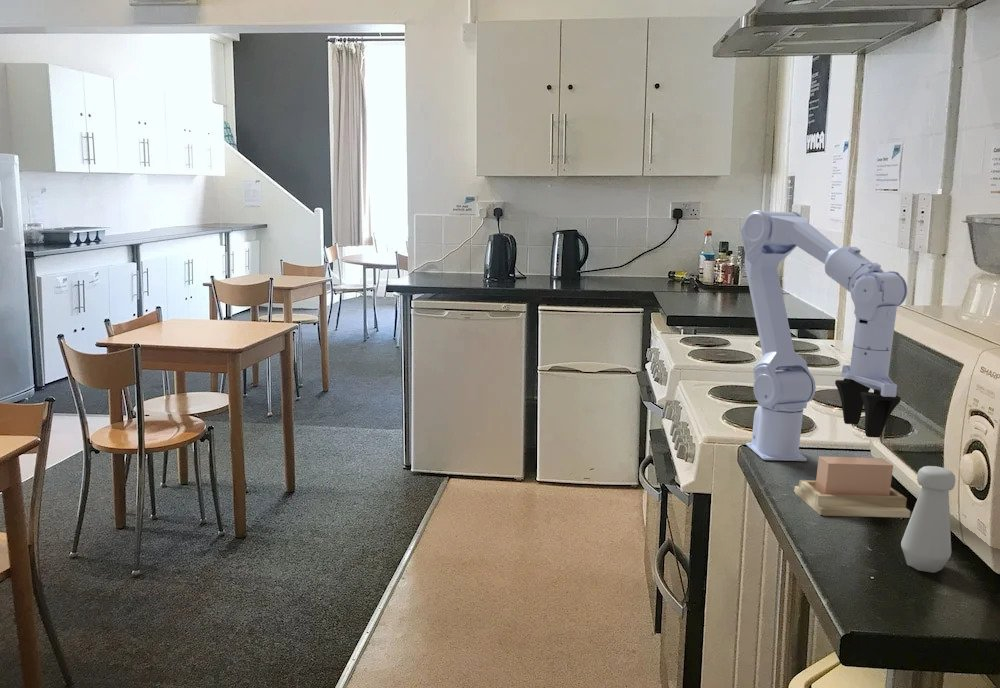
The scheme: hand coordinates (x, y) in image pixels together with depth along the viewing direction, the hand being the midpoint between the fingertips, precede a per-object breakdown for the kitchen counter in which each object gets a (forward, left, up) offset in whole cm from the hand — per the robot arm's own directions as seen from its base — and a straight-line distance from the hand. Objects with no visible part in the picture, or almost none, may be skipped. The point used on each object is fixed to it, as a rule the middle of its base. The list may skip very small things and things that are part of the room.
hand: (861, 430), depth 142 cm
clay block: (+9, -5, -8) cm, 13 cm away
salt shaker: (+31, -6, -10) cm, 33 cm away
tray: (+9, -5, -9) cm, 14 cm away
